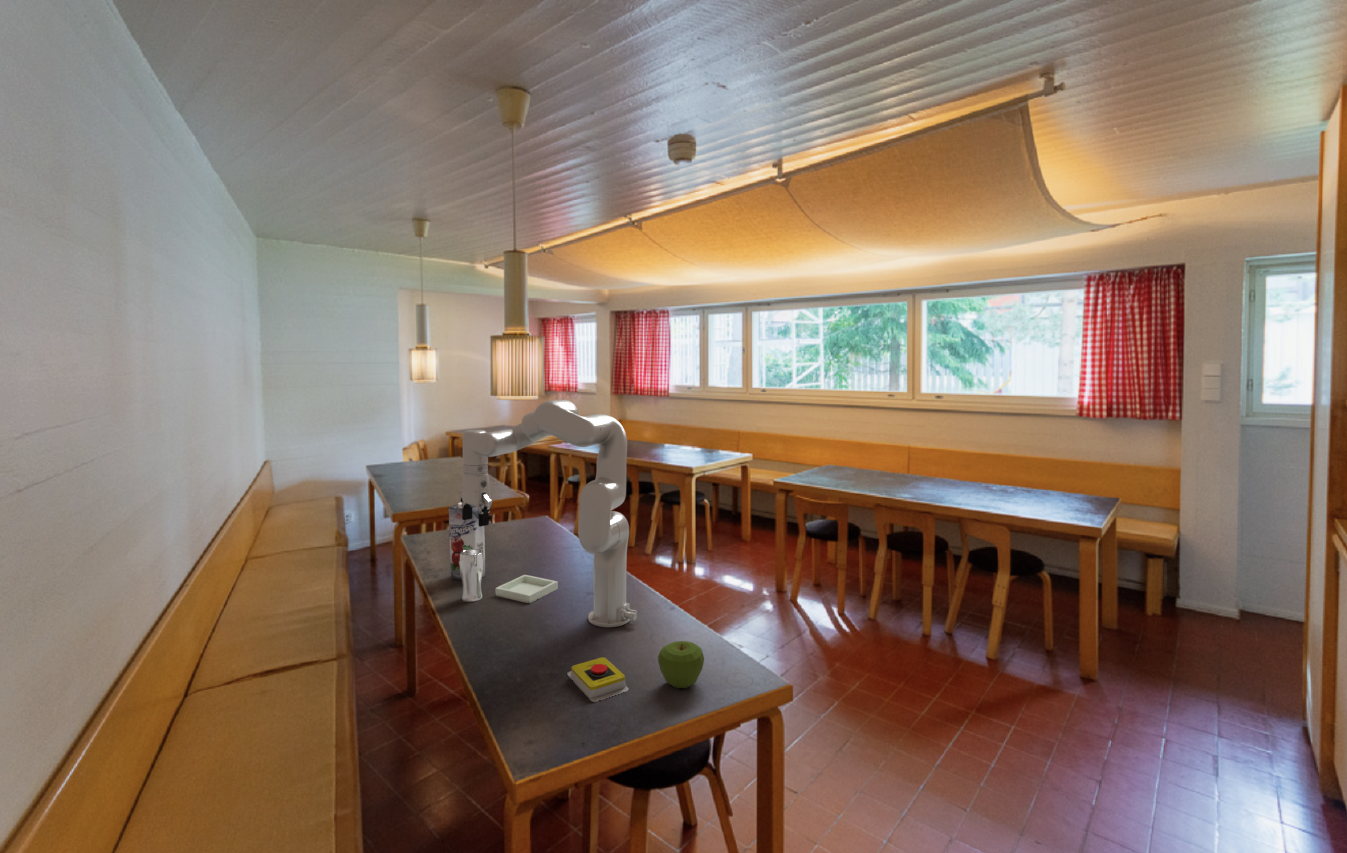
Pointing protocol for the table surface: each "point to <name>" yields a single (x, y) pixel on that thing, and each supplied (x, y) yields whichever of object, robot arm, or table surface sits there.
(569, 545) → the table surface
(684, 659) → the apple
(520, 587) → the sage tray
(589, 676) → the emergency button
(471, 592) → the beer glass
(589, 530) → the robot arm
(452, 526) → the juice carton
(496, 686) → the table surface
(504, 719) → the table surface
